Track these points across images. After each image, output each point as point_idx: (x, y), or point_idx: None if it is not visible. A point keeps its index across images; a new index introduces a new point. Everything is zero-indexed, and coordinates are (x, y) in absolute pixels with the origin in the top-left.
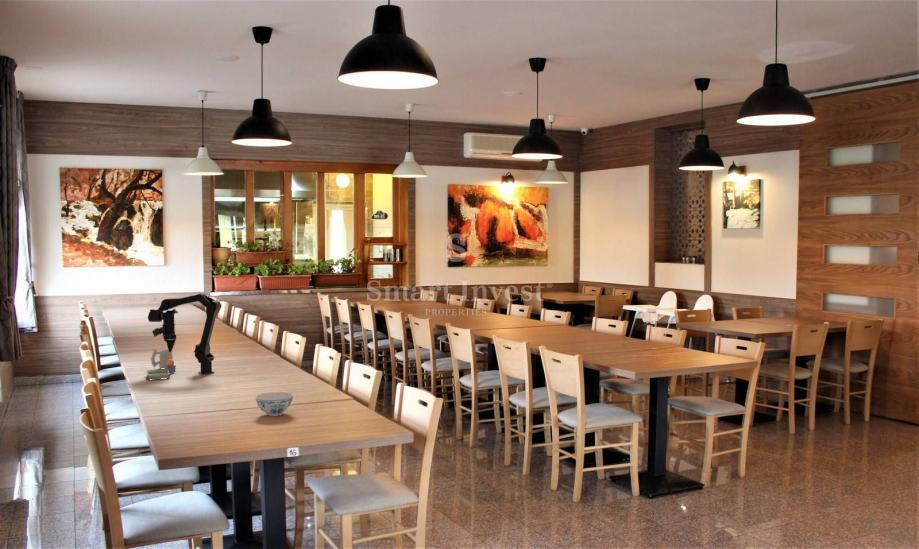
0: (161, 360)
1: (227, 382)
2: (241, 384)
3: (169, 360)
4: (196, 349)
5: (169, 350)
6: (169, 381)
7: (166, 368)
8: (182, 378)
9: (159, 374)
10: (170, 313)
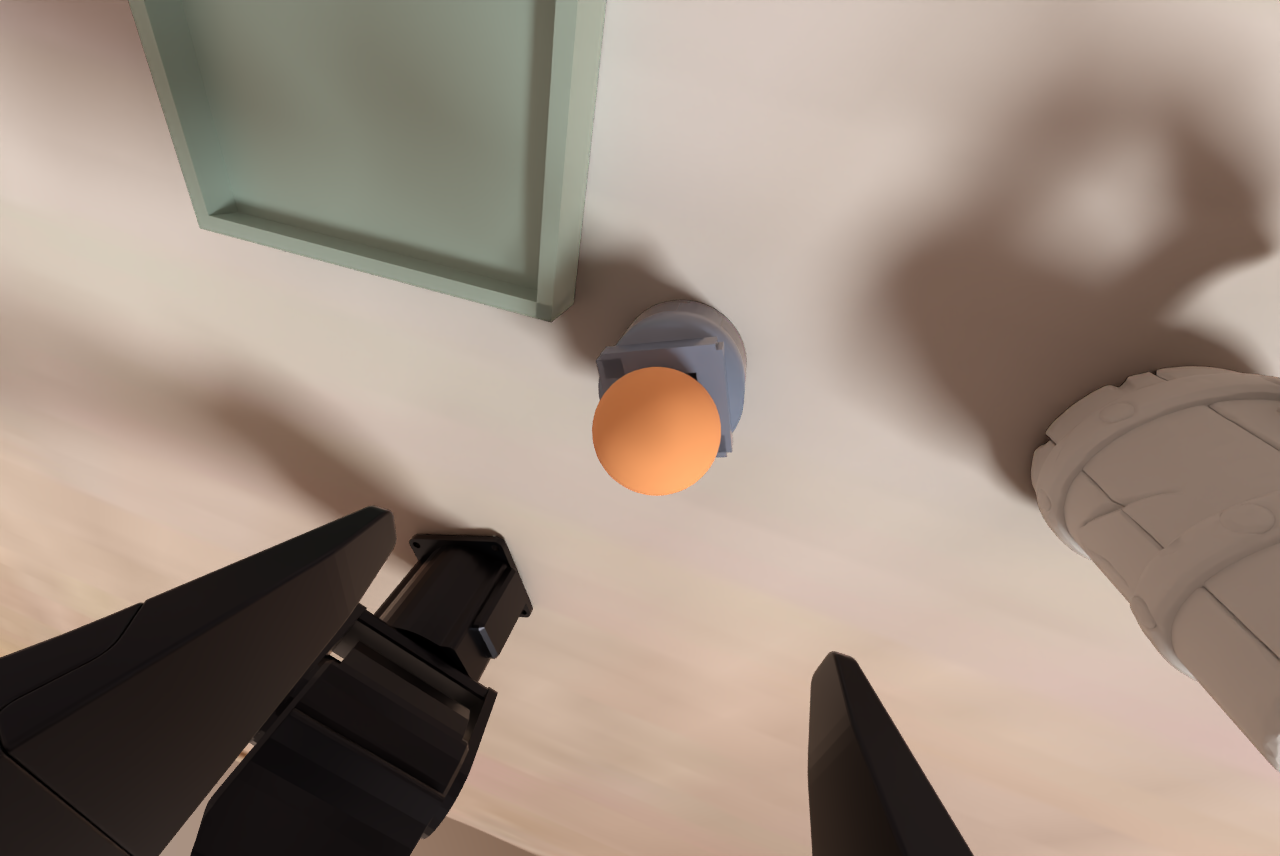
0: (1268, 456)
1: (89, 505)
2: (35, 525)
3: (604, 430)
4: (240, 763)
5: (331, 536)
6: (110, 169)
7: (640, 328)
8: (272, 342)
9: (427, 143)
10: None
